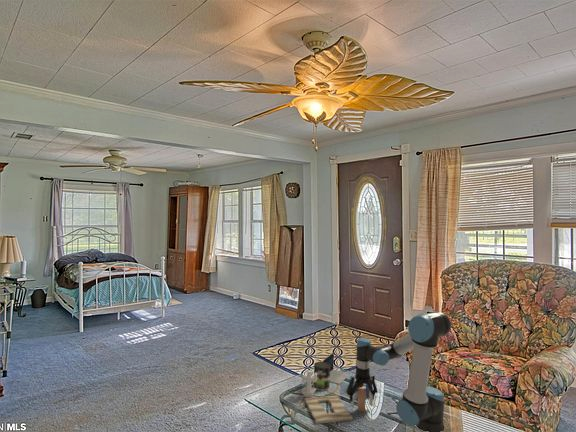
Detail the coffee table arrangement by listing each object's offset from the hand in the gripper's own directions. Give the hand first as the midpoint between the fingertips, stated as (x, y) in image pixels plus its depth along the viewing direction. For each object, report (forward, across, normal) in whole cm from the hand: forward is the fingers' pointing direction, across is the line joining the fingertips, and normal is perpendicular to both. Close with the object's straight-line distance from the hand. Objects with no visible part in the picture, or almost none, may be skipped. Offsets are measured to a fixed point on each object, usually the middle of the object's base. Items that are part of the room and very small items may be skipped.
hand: (361, 405), depth 213 cm
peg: (+2, 0, 0) cm, 2 cm away
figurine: (+3, +25, -20) cm, 32 cm away
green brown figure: (+3, +14, -30) cm, 33 cm away
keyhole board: (+2, +19, -3) cm, 19 cm away
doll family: (+3, -11, -21) cm, 24 cm away
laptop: (+3, 0, -42) cm, 42 cm away
